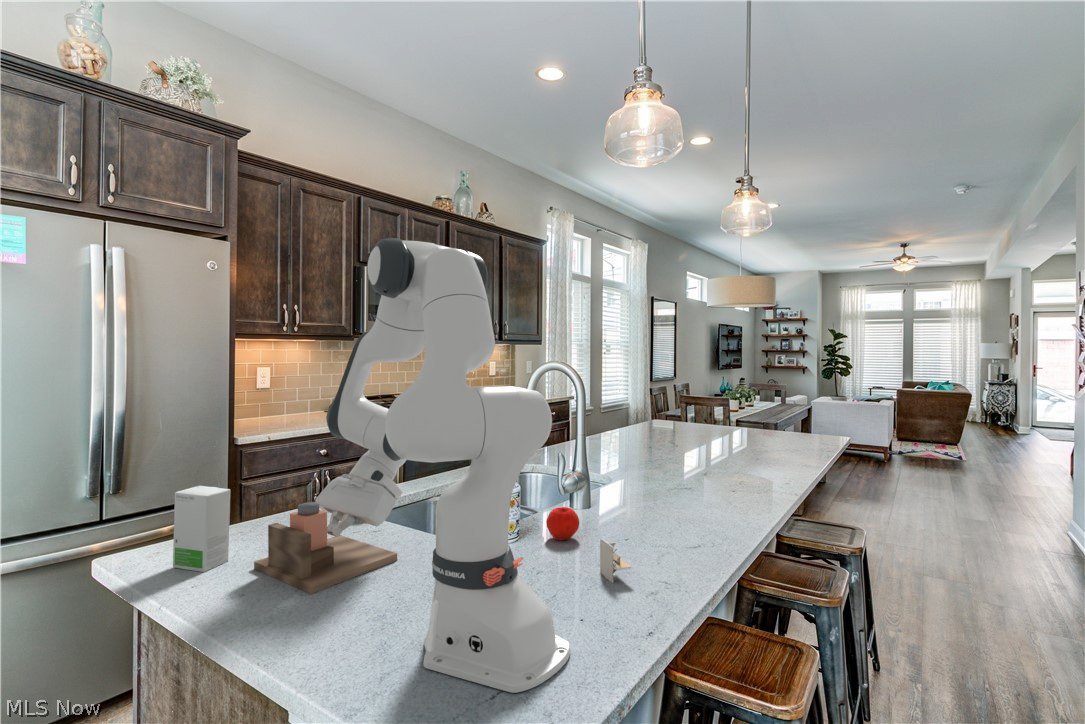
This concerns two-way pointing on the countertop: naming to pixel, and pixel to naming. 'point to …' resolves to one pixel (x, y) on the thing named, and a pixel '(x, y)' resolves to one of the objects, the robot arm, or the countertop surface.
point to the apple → (562, 523)
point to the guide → (317, 559)
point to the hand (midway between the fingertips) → (331, 534)
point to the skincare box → (201, 528)
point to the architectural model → (610, 560)
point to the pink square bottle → (311, 523)
